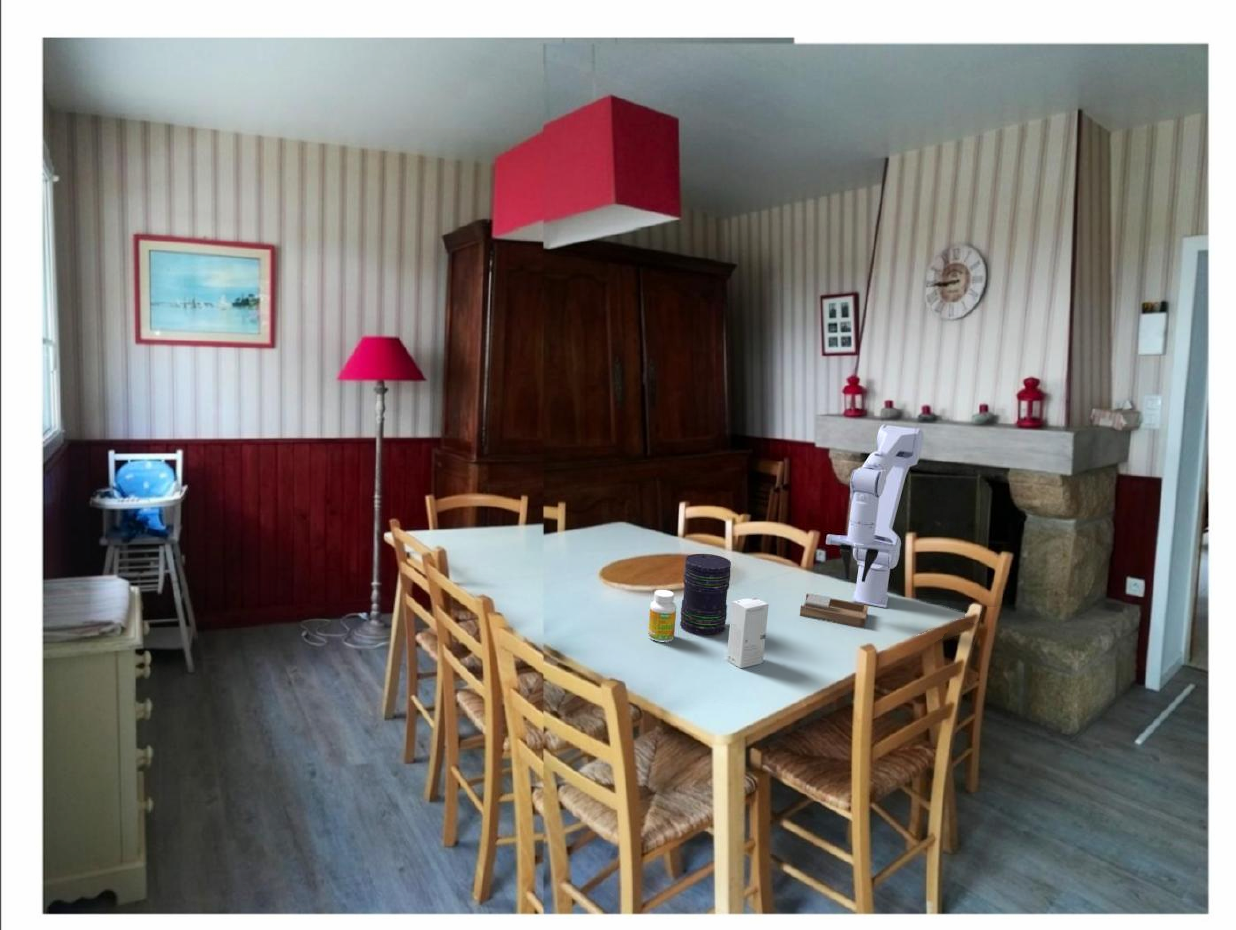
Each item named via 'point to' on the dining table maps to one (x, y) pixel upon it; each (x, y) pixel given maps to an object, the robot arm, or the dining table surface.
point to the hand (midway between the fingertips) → (855, 579)
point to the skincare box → (747, 632)
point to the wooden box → (839, 612)
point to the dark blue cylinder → (705, 594)
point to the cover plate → (818, 602)
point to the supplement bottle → (662, 616)
